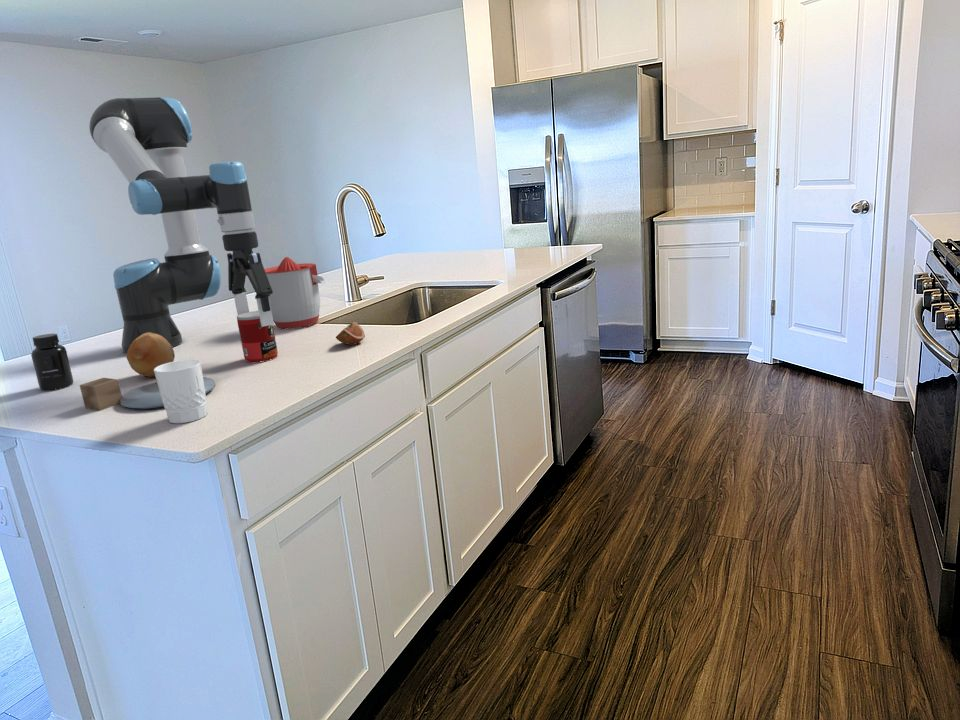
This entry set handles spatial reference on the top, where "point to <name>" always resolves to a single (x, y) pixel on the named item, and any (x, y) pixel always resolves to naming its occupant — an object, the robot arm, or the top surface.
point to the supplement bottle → (51, 363)
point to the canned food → (256, 338)
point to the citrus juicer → (294, 294)
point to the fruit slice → (351, 334)
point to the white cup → (182, 390)
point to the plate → (152, 395)
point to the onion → (149, 353)
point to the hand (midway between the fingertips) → (255, 322)
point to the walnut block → (101, 393)
